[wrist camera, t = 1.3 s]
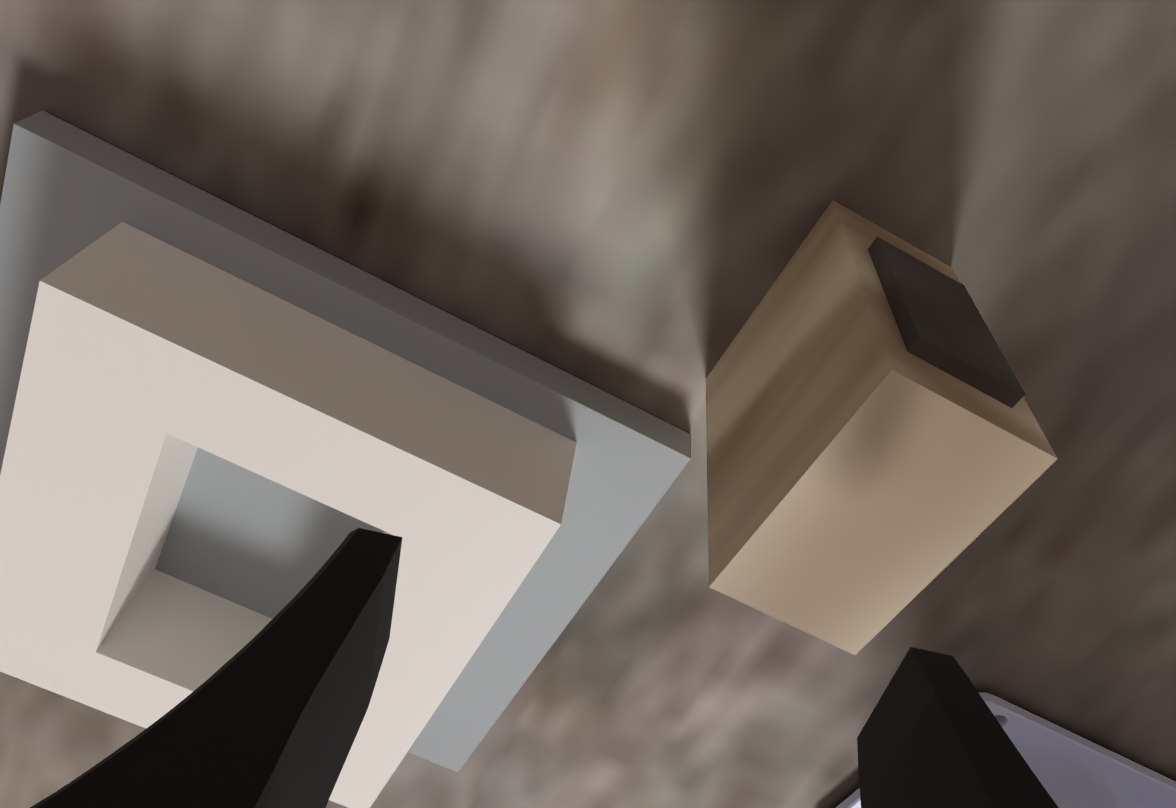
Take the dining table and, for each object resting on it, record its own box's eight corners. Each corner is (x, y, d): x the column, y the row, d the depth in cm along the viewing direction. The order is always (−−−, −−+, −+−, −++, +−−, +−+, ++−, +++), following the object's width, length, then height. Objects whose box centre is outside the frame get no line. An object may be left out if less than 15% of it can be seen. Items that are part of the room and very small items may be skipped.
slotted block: (690, 434, 23) (690, 542, 19) (464, 745, 30) (434, 863, 27) (42, 110, 20) (-91, 170, 17) (-36, 539, 27) (-140, 641, 24)
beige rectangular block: (960, 255, 20) (1072, 444, 14) (813, 434, 22) (854, 655, 17) (841, 187, 19) (905, 354, 13) (705, 378, 22) (708, 586, 16)
